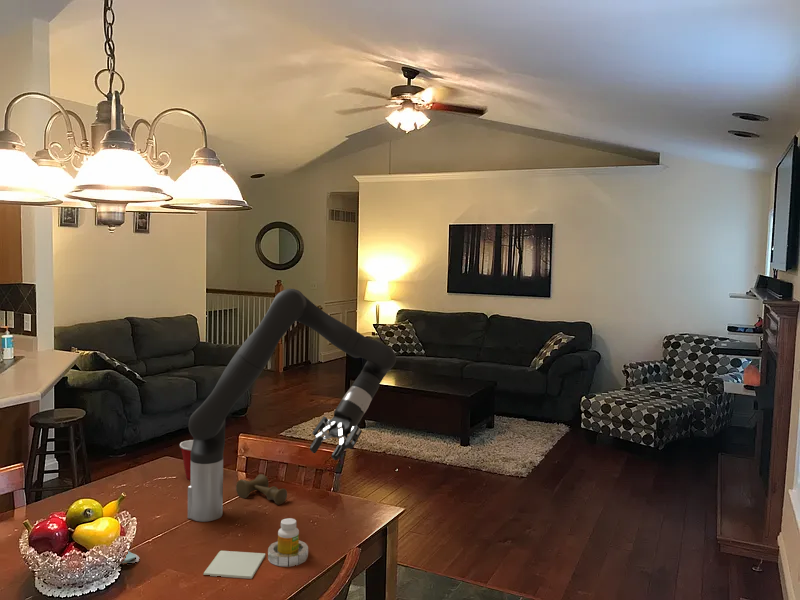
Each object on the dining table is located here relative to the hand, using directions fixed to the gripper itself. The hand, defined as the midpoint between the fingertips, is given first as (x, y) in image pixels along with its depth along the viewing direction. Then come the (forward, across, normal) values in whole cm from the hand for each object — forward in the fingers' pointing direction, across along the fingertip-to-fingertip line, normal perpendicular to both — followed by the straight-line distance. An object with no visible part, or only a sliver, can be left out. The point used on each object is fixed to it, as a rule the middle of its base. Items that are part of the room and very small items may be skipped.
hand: (322, 455), depth 177 cm
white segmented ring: (+26, 0, +9) cm, 27 cm away
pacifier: (+47, -28, -12) cm, 55 cm away
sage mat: (+34, -6, +1) cm, 35 cm away
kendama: (+11, -38, +24) cm, 46 cm away
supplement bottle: (+26, 0, +9) cm, 27 cm away
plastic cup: (+15, -67, +20) cm, 72 cm away
